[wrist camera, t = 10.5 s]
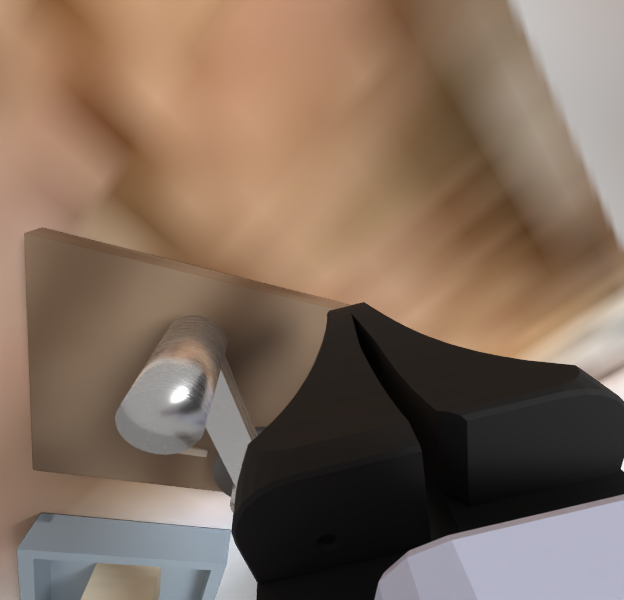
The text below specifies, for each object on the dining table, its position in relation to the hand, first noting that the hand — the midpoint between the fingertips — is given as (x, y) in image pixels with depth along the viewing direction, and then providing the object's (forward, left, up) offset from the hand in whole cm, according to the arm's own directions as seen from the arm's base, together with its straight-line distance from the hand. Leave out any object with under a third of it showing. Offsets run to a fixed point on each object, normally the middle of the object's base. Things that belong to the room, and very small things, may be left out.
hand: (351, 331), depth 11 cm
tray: (+7, +25, -4) cm, 26 cm away
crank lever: (+3, +7, -2) cm, 8 cm away
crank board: (+5, +7, -4) cm, 10 cm away
